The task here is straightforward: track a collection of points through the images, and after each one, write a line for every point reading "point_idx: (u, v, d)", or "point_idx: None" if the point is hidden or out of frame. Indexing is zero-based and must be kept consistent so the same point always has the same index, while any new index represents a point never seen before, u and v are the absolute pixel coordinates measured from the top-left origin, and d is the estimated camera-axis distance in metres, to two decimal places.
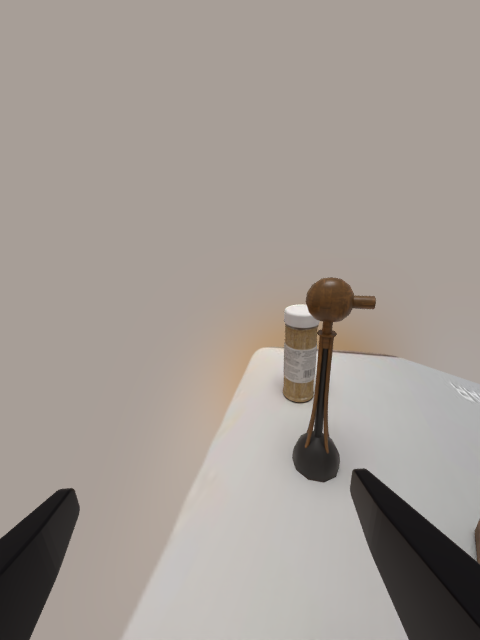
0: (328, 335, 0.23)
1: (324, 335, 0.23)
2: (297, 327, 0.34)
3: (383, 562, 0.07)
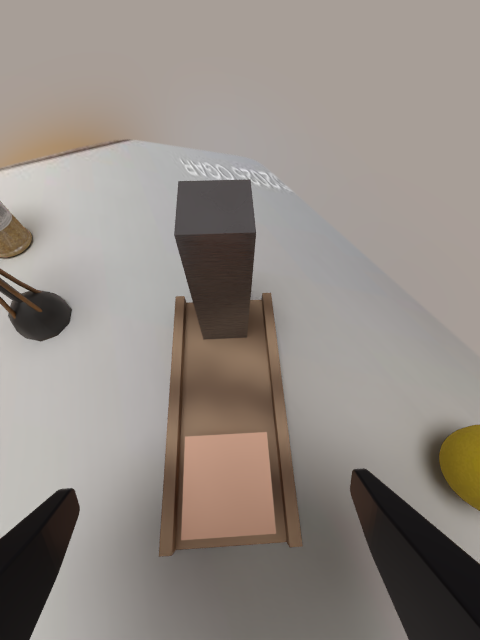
0: None
1: None
2: None
3: (383, 562, 0.07)
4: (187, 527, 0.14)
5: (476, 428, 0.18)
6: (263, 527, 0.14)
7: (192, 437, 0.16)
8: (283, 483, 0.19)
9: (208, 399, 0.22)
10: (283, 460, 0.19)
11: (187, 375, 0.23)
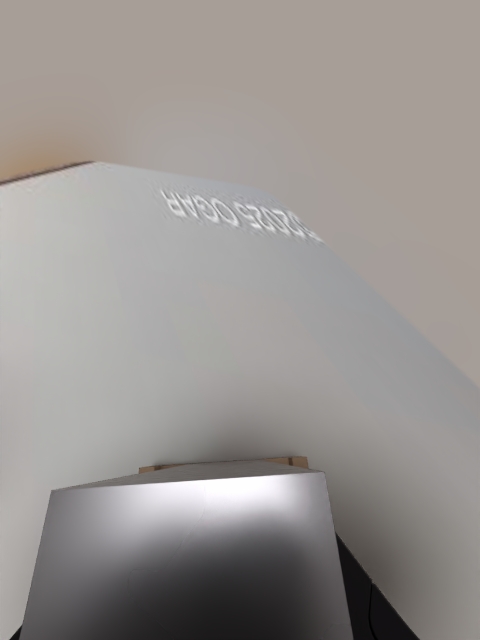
0: None
1: None
2: None
3: None
4: None
5: None
6: None
7: None
8: None
9: None
10: None
11: None
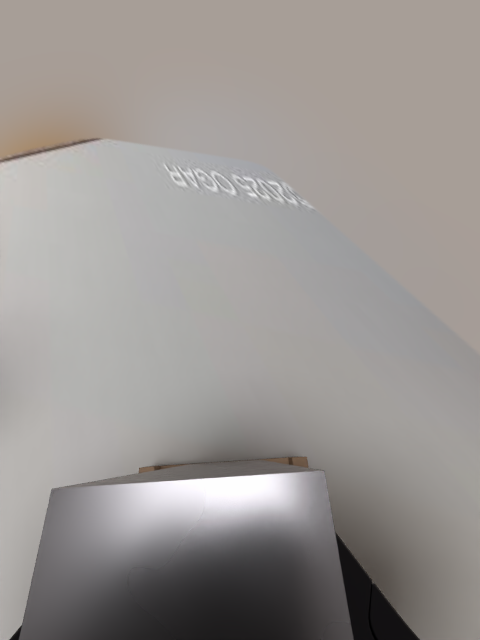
0: None
1: None
2: None
3: None
4: None
5: None
6: None
7: None
8: None
9: None
10: None
11: None
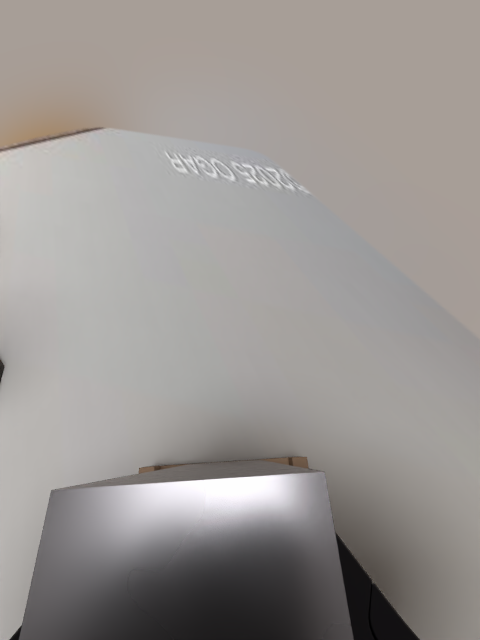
0: None
1: None
2: None
3: None
4: None
5: None
6: None
7: None
8: None
9: None
10: None
11: None
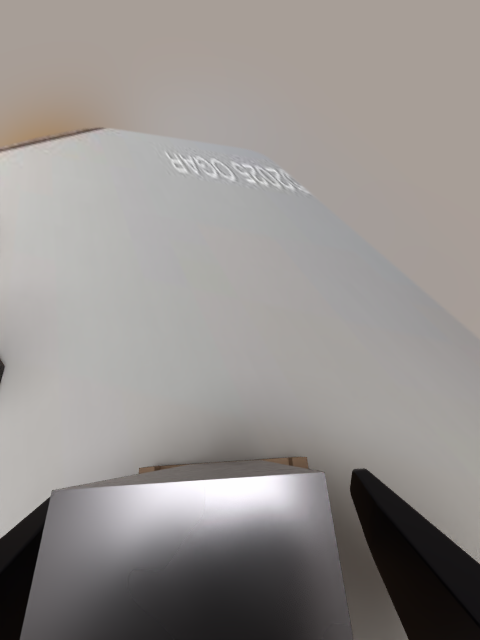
0: None
1: None
2: None
3: (383, 562, 0.07)
4: None
5: None
6: None
7: None
8: None
9: None
10: None
11: None
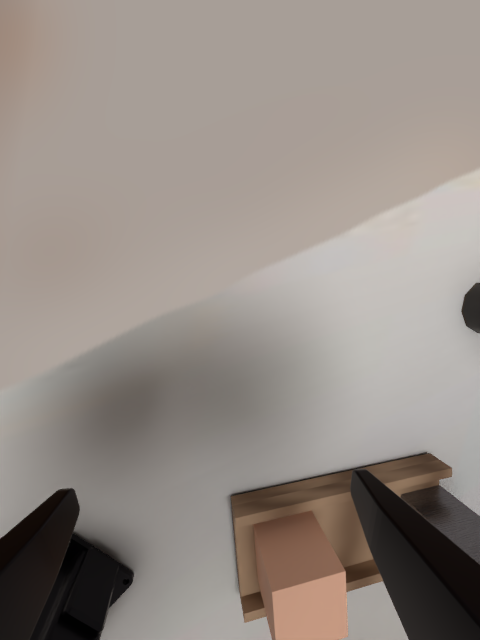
0: None
1: None
2: None
3: (383, 562, 0.07)
4: (280, 594, 0.17)
5: None
6: None
7: (344, 577, 0.18)
8: None
9: (345, 512, 0.23)
10: None
11: None
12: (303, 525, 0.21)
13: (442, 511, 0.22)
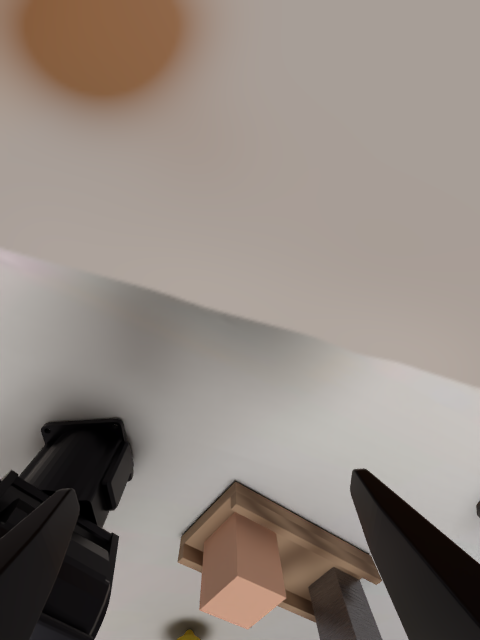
0: None
1: None
2: None
3: (383, 562, 0.07)
4: (240, 580, 0.21)
5: None
6: (207, 607, 0.22)
7: (282, 600, 0.22)
8: None
9: (292, 549, 0.27)
10: None
11: None
12: (267, 540, 0.25)
13: (355, 602, 0.27)
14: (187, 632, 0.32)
